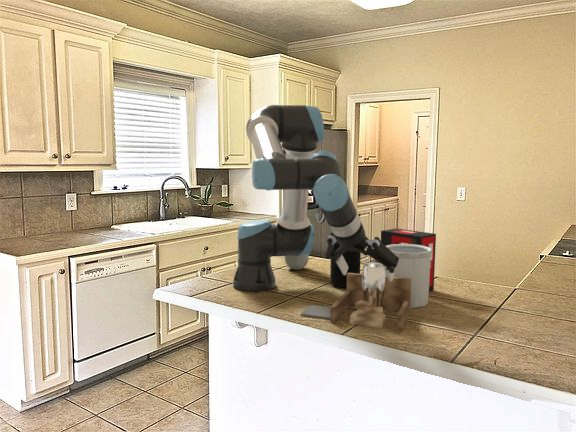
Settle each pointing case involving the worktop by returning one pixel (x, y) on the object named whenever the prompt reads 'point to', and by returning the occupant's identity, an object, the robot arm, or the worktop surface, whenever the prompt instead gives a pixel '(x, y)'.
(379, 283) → the beer glass
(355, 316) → the offcut stack
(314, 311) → the coaster
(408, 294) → the open wooden frame
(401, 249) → the utensil holder
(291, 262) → the glass bottle
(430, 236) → the cleaning product box
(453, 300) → the worktop surface
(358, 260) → the coffee jar
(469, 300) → the worktop surface
